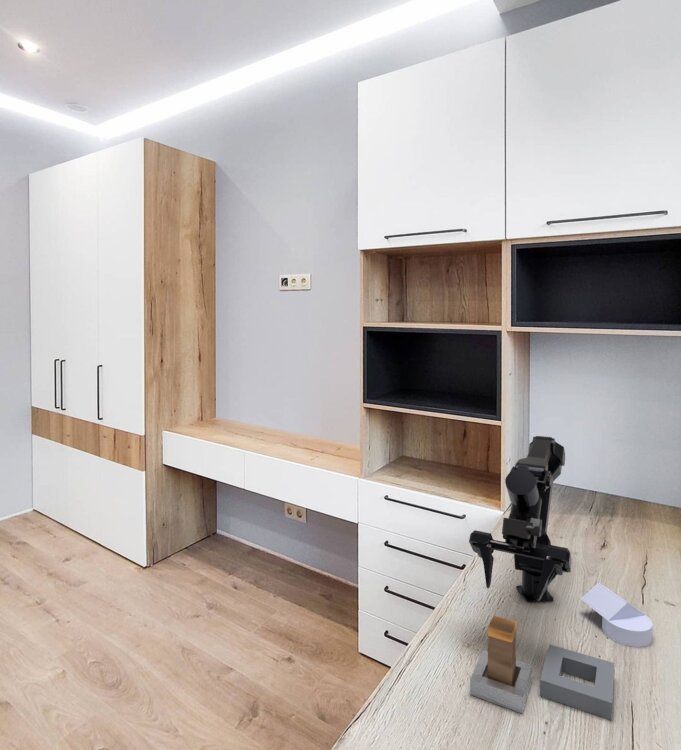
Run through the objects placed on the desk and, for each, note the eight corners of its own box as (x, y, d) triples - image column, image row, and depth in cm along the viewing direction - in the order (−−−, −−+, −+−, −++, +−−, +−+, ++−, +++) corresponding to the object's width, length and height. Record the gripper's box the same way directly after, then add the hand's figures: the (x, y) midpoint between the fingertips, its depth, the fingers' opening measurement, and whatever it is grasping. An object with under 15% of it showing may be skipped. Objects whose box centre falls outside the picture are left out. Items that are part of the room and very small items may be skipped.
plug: (492, 676, 91) (493, 615, 90) (515, 684, 89) (516, 621, 88) (487, 690, 88) (488, 627, 87) (510, 699, 86) (511, 634, 84)
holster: (483, 664, 94) (483, 649, 94) (531, 680, 90) (532, 665, 90) (470, 694, 87) (470, 678, 87) (522, 713, 82) (522, 696, 82)
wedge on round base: (579, 613, 111) (623, 650, 98) (580, 584, 110) (625, 617, 97) (615, 607, 112) (662, 643, 100) (616, 579, 112) (664, 611, 99)
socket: (549, 658, 96) (549, 644, 95) (613, 678, 90) (614, 663, 90) (539, 695, 86) (540, 679, 86) (611, 720, 81) (612, 703, 80)
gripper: (471, 492, 102) (455, 566, 93) (571, 507, 92) (563, 591, 84) (481, 516, 109) (466, 587, 101) (574, 532, 100) (566, 612, 91)
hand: (512, 593), depth 94 cm, fingers open, 9 cm apart
